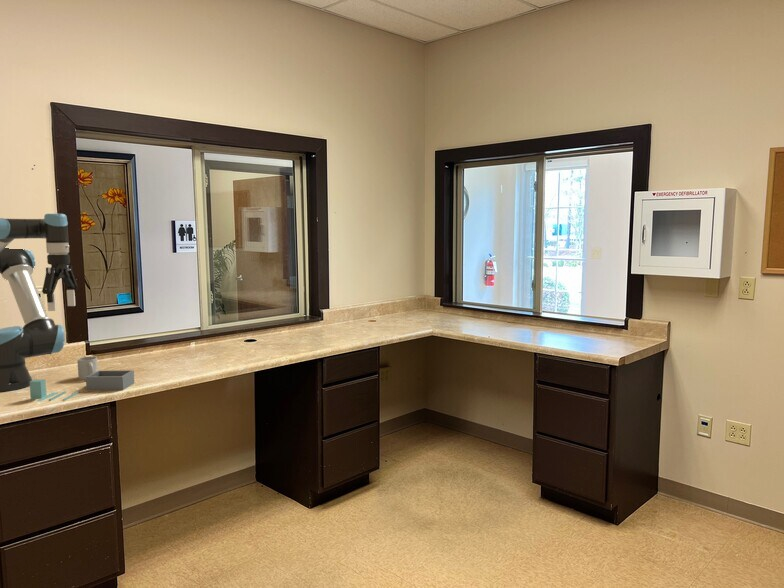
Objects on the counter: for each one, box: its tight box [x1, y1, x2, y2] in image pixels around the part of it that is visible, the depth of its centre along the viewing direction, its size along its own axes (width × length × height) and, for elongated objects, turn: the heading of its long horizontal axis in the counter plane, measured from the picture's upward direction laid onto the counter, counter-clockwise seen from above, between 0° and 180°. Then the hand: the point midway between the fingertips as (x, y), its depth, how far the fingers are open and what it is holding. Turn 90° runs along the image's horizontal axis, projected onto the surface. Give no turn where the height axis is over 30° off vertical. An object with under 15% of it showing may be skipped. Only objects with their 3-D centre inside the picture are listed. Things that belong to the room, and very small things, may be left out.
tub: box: [85, 369, 135, 391], centre depth 222 cm, size 14×10×6 cm
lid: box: [29, 379, 80, 402], centre depth 209 cm, size 19×11×7 cm, turn 91°
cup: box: [76, 356, 99, 381], centre depth 234 cm, size 7×10×9 cm
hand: (62, 308), depth 220 cm, fingers open, 13 cm apart
